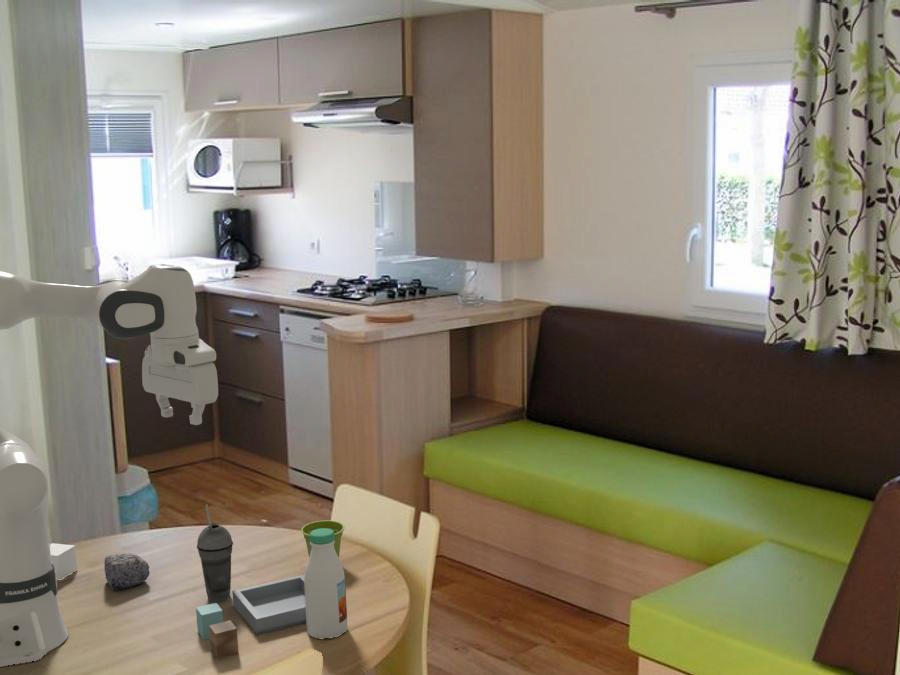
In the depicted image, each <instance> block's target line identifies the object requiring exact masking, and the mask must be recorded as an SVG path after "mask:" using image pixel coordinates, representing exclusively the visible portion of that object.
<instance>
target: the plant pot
mask: <svg viewBox="0 0 900 675" xmlns="http://www.w3.org/2000/svg"><path fill="white" fill-rule="evenodd" d="M321 528H327V529H331V530H333V531H334V535H335V539H334V540H335V543H334V549H335V551H336V554H337V556H338V558H339V559H340V554H341V553H340V552H341V551H340V550H341V540H342V536H343V532H344V530H345V525H344V524H343V523H342V522H340V521H336V520H330V519H329V520H327V519H326V520H317V521H312V522H309V523H307V524H305V525H304V526H302V527H301V529H300V530H301V533H302V534H303V537H304V539H305V543H306V544H305V545H306V547H307V548H306V549H307V554H308V558H309V557H310V554H311V549H312V545H311V544H310V533H311V532H312V531H313V530H316V529H321Z"/></svg>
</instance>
